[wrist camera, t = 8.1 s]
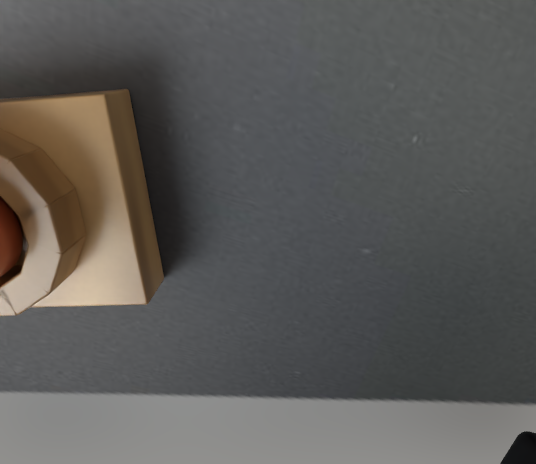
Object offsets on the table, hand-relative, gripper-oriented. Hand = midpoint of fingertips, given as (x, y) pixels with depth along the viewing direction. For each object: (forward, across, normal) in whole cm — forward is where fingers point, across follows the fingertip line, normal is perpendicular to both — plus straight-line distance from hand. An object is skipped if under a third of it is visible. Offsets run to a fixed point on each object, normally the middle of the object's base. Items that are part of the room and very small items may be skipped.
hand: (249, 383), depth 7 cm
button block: (+11, +10, +3) cm, 15 cm away
